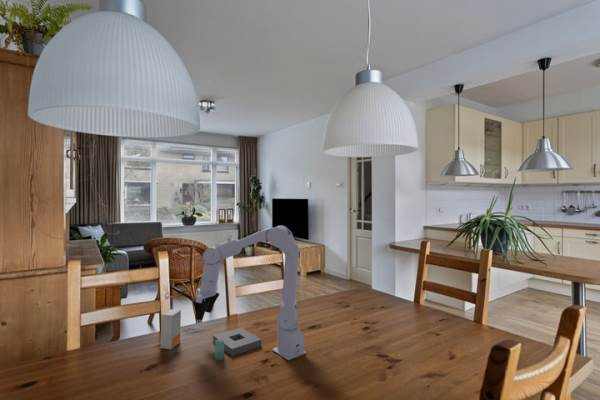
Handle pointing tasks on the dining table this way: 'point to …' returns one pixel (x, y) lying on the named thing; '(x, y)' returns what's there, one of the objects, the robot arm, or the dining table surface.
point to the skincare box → (170, 328)
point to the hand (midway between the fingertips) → (203, 315)
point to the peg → (219, 350)
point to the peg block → (238, 341)
